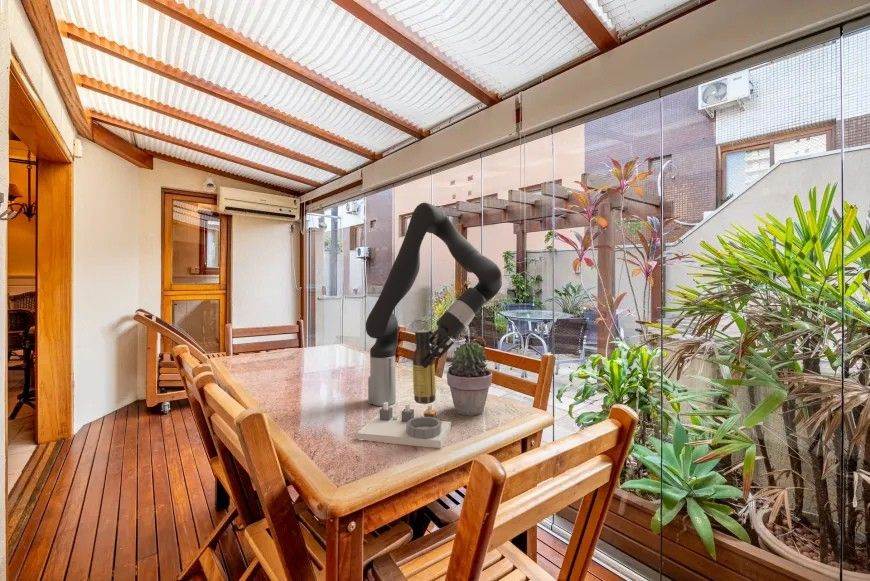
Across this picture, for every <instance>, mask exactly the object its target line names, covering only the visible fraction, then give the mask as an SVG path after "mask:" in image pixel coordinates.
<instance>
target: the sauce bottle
mask: <svg viewBox="0 0 870 581" xmlns="http://www.w3.org/2000/svg"><path fill="white" fill-rule="evenodd" d="M429 331H430V330H428V329H427V330H425V329H424V330H423V329H422V330H416V331H415V332H414V334H415V335H414V337H415V343H416V345H415V350H414V351H413V353H412V357H413V360H412V359H411V361H412V384H413V385H412V386H413V395H414V396H413V398H414V399H413V400H414V402H415V403H417V404H420V405H422V404H423V405H429V404H433V403H434V402H435V401H436V398H437V397H436V394H437V393H436V392H437V389H436V388H437V387H436V368H435V367H436V364H435V359H434V360H433V361H432V362H431V363H430V364H429V365H428V367H427V368H424V367H423V366H422V365H421V364H420V362H421V361H422V359H423V358H424V357H425V356H426V355H427V354H428V353H429V351H430V344H429V336H430V333H429ZM429 354H430V353H429Z"/></svg>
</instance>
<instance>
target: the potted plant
mask: <svg viewBox="0 0 870 581" xmlns="http://www.w3.org/2000/svg"><path fill="white" fill-rule="evenodd" d="M459 345H460V346H456V347H455V350H453V353H454V355H453V357H451V359H450V360H451V361H452V363H450V364H449V365H448V369H447V371H445V373H446V384H447V385H448V387H449V389H450V394H451V398H452V402H453V407H454V410H455V413H456V414H458V413H459V415H461V414H462V415H463V416H467V415H473V416H478V415H482V413H484V412H485V408H486V403H487V397H488V393H489V389H490V387H491V386H492V382H493V381H492V380H493V371H490V370H488V367H487V366H488V363H486V362H487V360H488V362H489V363H491V361H490V360H489V359H488V358H487V356H488V355H489V354H490V353H487V354H484V353H485V350H484V349H485V348H486V347H487V342H486V340H485V339H484V338H483V337H482V336H480V335H479V336H476V337H475V339H474V340H473V341H469V339H468V340H467V341H465V342H464V343H463V344H459ZM462 415H461V416H462Z"/></svg>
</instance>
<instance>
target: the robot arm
mask: <svg viewBox="0 0 870 581" xmlns="http://www.w3.org/2000/svg"><path fill="white" fill-rule="evenodd" d="M427 233H429V234H433V235H435V236H436V238H439V239H440V240H441V241H442V242H443V243H444V244H445V245H446V247H447V248H448V251H449V253H450V254H451V256H452V257H453V259H454V260H455V261H456V262H457V263H458V264H459V265H460V266H461V267H462V269H464V270H465V271H466V272H467V273H473V275H475V276H476V277H477V280H478V282H477V284H476V285H475V286H474V287H468V288H467V289H465V290H464V291H463V292H462V293H461V295H460V296H459V297H458V298H457V299H456V300H455V301H454V302H453V303H452V304H451V305H450V306H449V307H448V308H447V310H446V311H445V312H444V313H443V314H441V316H440V317H439V319H438V320H437V321H436V326H437V329H436V330H435V331H432V330H428V331H429V333H430V336H429V344H430V351H429V353H430V354H429V353H428V354H427V355H426V356H425V357H424V358H423V359H422V361H421V362H420V364H421V365H422V366H423V367H424V368H427V367H428V365H429V364H430V363H431V362H432V361H433V360H434V361H435V359H437V358H439V359H440V358H442V357H443V356H444V354H446V353H447V351H448V350H449V349H450V348H451V347H452V346H453V345H454V344H455V341H454V340H457V339H458V338H459V337H460V335H461V334H462V333H463V332H464V330H465V329H466V328H467V327H468V326H469V325H470V323H471V322H472V321H473V319H474V318H475V316H476V315H477V314H478V312H479V311H480V310H481V309H482V308H483V306H484V305H485V304H487V303H488V302H490V300H492V299H493V298H494V297H495V296H496V295H498V293H499V292H500V290H501V288H502V285H503V273H502V270H501V268H500V267H499V265H498V264H497V263H495V262H494V261H493V260H492V259H490V258H488V257H487V256H485V255H483V254H482V253H481V252H480V251H479V250H478V249H477V248H476V247H475V246H474V245H473V244H472V243H471V242H470V241H468V240H467V239H466V238H465V236H463V235H462V234H461V233H460V231H459V230H458V229H457V227H455V225H454V224H453V223H452V221H451V219H450V218H449V217H448V215H447V213H446V212H445V211H444V210H443V209H442V208H440V207H438V206H435V205H433V204H431V203H429V202H421V203H419V204H418V205H417V206H416V207H415V208H414V210H413V212H412V214H411V217H410V220H409V223H408V226H407V229H406V232H405V235H404V237H403V240H402V242H401V246H400V248H399V249H398V250H399V251H398V253H397V255H396V258H395V260H394V261H393V265H392V266H391V269H390V270H389V274H388V276H387V278H386V280H385V283H384V286H383V288H382V289H381V292H380V295H379V296H378V298H377V300H376V302H375V304H374V305H373V307H372V309H371V311H370V313H369V315H368V317H367V319H366V321H365V332H366V333H367V336H369V337H370V338H372V339H376V340H375V343H374V344H373V345H372V347H371V348H370V349H369V357H370V358H369V368H370V371H369V373H370V375H369V377H368V379H367V386H368V388H367V391H368V392H367V397H368V398H367V401H368V402H367V403H369V404H370V405H372V404H373V406H376V407H377V406H379V407H383V403H385V402H388V406H391V405H394V404H395V403H396V400H397V398H396V397H397V395H396V394H397V393H396V392H397V388H396V387H397V386H396V380H397V379H396V374H397V373H396V370H397V369H396V350H397V348H398V341H399V340H398V339H399V324H398V322H399V321H398V319H397V317H396V315H395V314H394V310H395V309H396V307H397V305H398V304H399V303H400V302H401V300H403V298H404V297H405V296H406V295H407V294H408V293H409V292H410V290H411V289H412V287H413V285H414V283H415V282H416V280H417V277H418V274H419V272H420V268H421V267H420V266H421V257H420V256H421V253H420V251H421V246H422V243H423V240H424V238H425V236H426V234H427ZM412 360H413V356H412V357H411V361H412ZM369 404H368V405H369Z"/></svg>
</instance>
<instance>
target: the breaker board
mask: <svg viewBox="0 0 870 581" xmlns="http://www.w3.org/2000/svg"><path fill="white" fill-rule="evenodd" d="M404 406H405V407H404V409H402V411H401V417H397V416H393V407H389V405H388V402H385V403H383V406H382V408H380V410H379V415H375V417H373V418H372V419H371V420H370V421H369V422H368V423H367V424H365V425H364V426H363V427H362V428H361V429H360V430H359V431H358V432H357V436H356V438H357V439H363V440H369V441H368V442H372V441H377V442H376V443H382V442H384V444H395V445H404V446H415V447H422V448H423V447H425V448H433V449H442V447H443V445H444V443H445V442H446V439H447V437H448V435H449V433H450V432H451V429H452V422H451V421H443V420H440V419H439V418H437V409H433V403H429V404H427V408H426V409H425V410H424V412H423V416H417V417H415V410H414V409H413V408H411V404H410V403H406V404H405V405H404Z"/></svg>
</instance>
